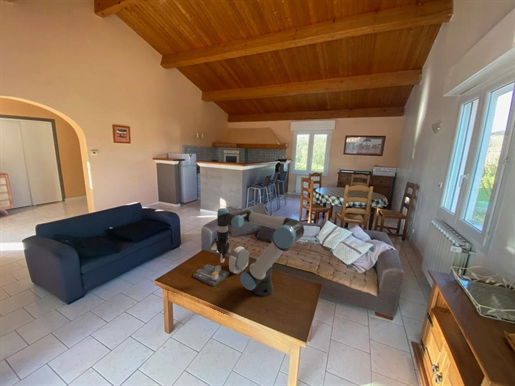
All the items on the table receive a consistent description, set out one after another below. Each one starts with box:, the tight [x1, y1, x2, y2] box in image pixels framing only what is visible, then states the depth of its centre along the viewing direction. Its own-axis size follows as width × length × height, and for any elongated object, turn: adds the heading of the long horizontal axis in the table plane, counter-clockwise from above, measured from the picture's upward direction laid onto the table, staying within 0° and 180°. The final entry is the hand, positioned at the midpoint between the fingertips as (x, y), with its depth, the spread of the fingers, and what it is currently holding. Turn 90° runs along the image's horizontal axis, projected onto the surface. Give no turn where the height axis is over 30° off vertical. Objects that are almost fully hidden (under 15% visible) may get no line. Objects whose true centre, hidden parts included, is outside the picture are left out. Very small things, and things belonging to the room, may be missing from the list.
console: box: [192, 264, 231, 287], centre depth 169 cm, size 21×18×4 cm
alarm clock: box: [228, 246, 250, 275], centre depth 176 cm, size 18×8×20 cm, turn 144°
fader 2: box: [215, 264, 222, 273], centre depth 170 cm, size 3×4×4 cm
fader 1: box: [212, 271, 218, 280], centre depth 161 cm, size 3×4×4 cm
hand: (222, 261), depth 155 cm, fingers closed
